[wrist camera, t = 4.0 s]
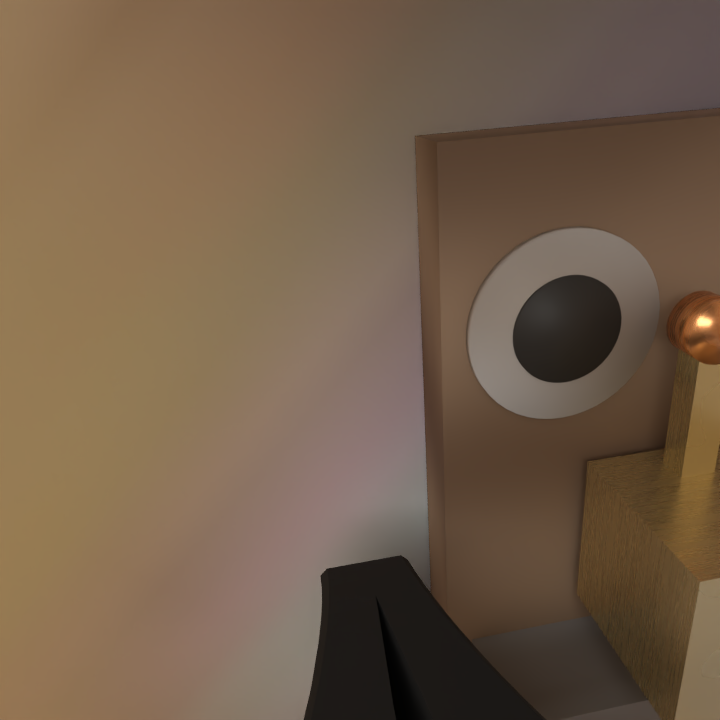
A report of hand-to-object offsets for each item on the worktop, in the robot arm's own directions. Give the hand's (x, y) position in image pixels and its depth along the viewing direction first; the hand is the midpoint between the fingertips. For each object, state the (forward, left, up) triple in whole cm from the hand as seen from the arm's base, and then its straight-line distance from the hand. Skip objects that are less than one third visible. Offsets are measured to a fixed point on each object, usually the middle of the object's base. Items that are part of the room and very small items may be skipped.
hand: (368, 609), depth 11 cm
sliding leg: (+2, -6, -1) cm, 6 cm away
